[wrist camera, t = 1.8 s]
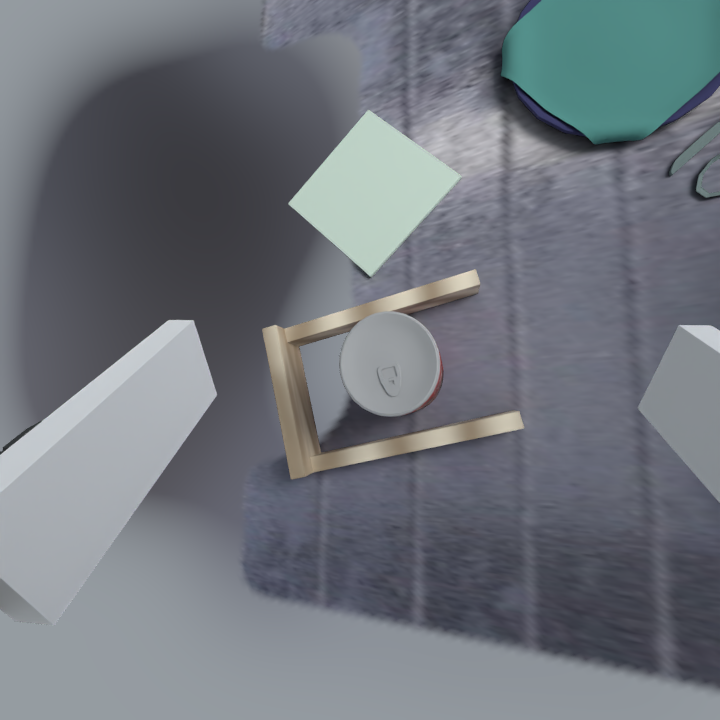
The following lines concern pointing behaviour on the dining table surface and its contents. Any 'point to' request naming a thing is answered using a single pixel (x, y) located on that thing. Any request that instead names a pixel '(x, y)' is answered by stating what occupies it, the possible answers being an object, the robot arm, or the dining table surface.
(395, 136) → the pad
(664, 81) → the cutlery set
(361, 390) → the canned food
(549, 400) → the dining table surface
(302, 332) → the shelf lane
